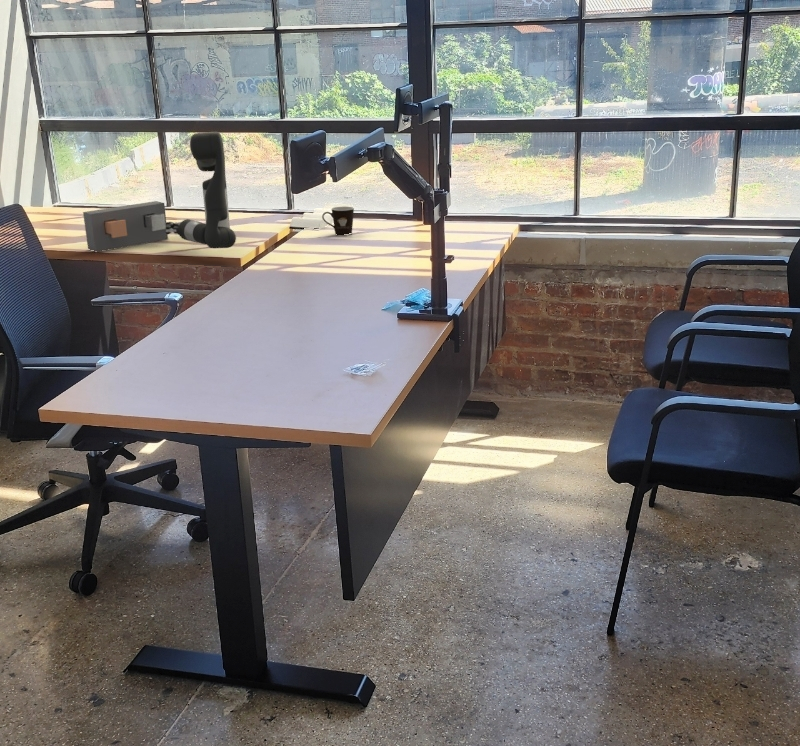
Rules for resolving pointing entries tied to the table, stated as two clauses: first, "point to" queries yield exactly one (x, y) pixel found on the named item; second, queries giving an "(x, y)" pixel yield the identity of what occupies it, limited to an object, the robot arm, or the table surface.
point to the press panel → (134, 226)
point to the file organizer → (316, 217)
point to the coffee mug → (341, 219)
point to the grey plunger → (154, 221)
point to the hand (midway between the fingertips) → (168, 224)
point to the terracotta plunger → (115, 228)
